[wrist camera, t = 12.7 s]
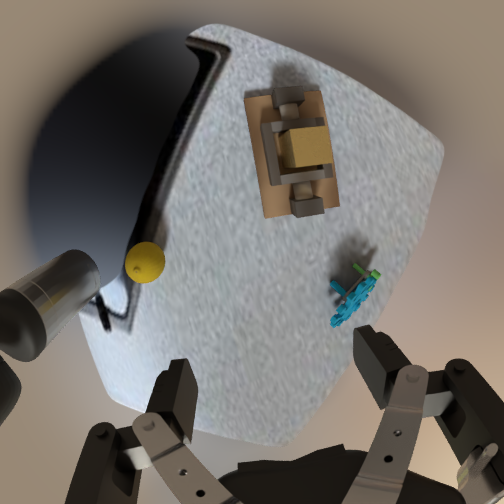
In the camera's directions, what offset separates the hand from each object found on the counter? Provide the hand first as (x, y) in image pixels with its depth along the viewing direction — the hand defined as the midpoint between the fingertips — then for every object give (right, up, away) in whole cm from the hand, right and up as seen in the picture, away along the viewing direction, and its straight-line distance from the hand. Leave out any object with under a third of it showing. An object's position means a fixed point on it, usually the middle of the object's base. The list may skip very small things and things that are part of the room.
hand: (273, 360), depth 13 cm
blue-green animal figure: (+15, -1, +33) cm, 36 cm away
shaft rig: (+5, +19, +26) cm, 33 cm away
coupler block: (+5, +19, +25) cm, 31 cm away
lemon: (-16, +5, +29) cm, 34 cm away
